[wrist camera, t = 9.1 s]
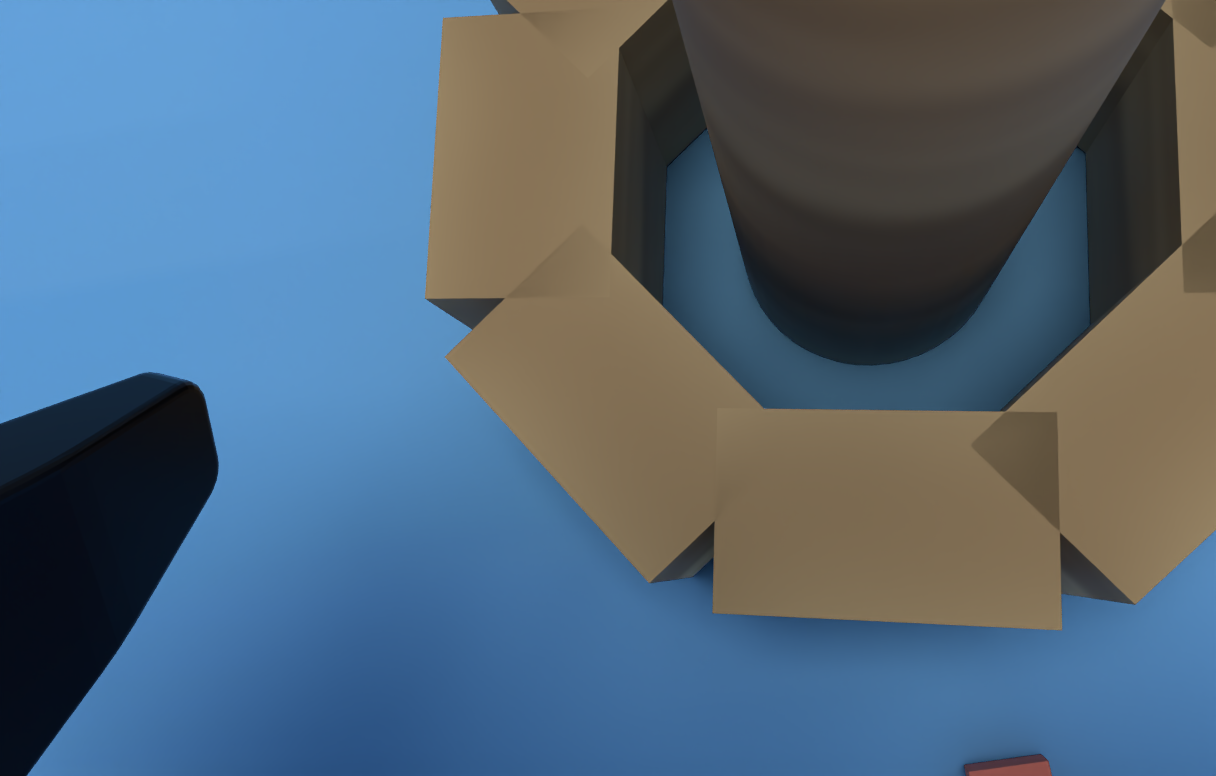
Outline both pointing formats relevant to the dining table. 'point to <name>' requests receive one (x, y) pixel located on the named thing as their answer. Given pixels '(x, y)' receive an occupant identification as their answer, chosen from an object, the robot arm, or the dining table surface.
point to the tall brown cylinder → (894, 148)
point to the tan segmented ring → (821, 438)
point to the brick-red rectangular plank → (1011, 767)
